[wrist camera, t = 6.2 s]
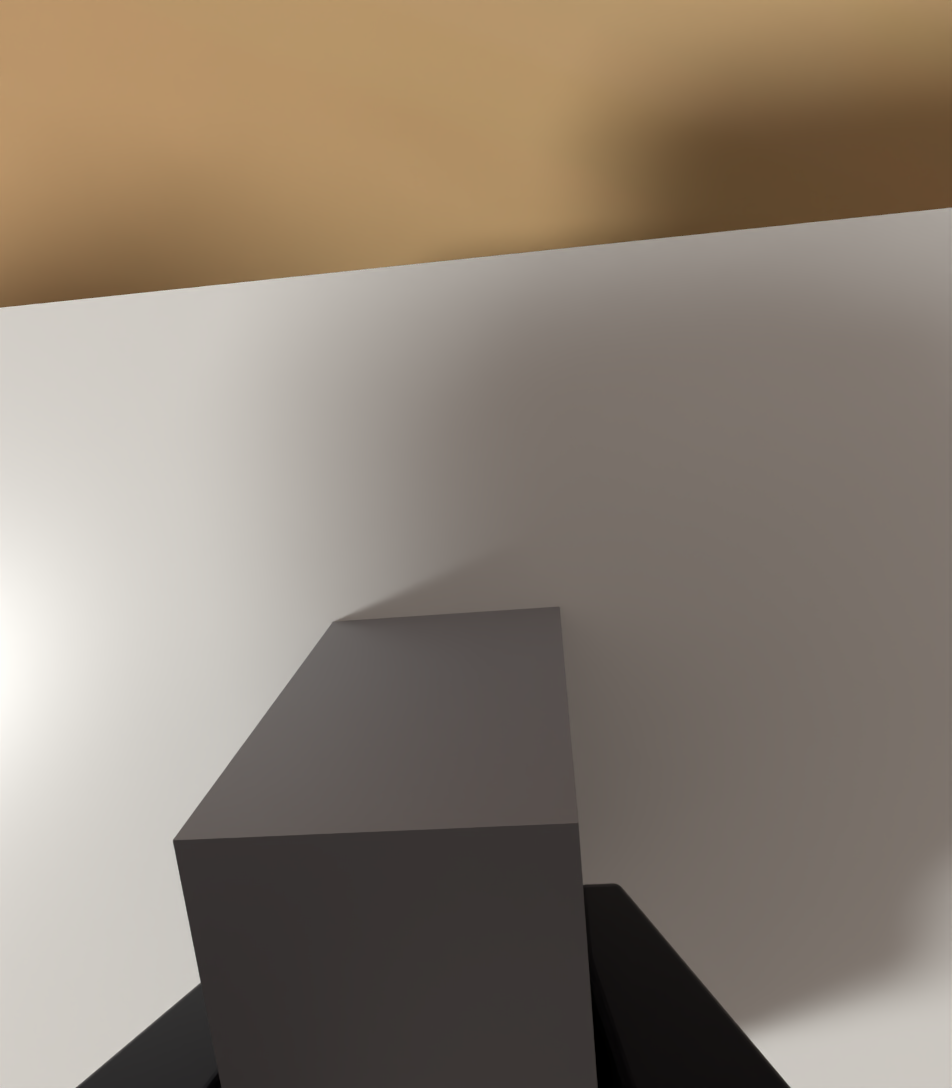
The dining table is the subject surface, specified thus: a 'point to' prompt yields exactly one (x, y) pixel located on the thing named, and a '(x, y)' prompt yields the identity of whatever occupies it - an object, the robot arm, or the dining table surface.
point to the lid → (483, 658)
